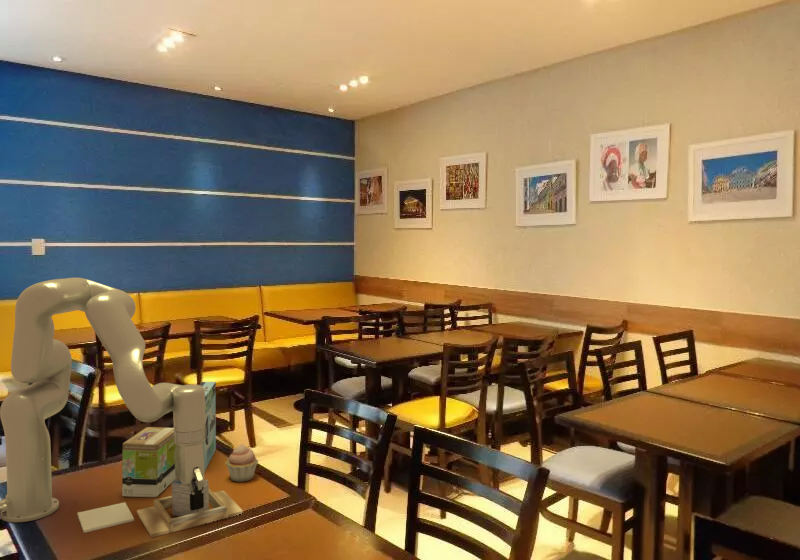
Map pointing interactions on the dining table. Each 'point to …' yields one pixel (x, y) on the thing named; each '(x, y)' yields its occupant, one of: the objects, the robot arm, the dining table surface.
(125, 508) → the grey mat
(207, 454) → the gum box
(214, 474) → the dining table surface
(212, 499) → the beige rectangular frame piece
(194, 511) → the medicine box
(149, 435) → the tea box
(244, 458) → the cupcake
